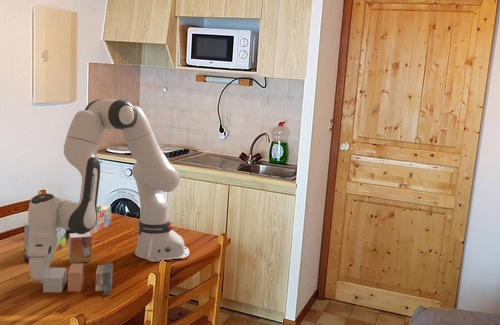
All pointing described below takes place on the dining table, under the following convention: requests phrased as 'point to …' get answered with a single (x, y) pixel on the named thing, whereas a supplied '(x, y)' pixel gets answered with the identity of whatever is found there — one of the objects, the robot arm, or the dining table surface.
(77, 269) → the pink rectangular block
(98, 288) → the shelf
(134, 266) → the dining table surface
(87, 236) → the small box
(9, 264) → the dining table surface
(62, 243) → the snack box
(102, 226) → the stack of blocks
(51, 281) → the gray block
